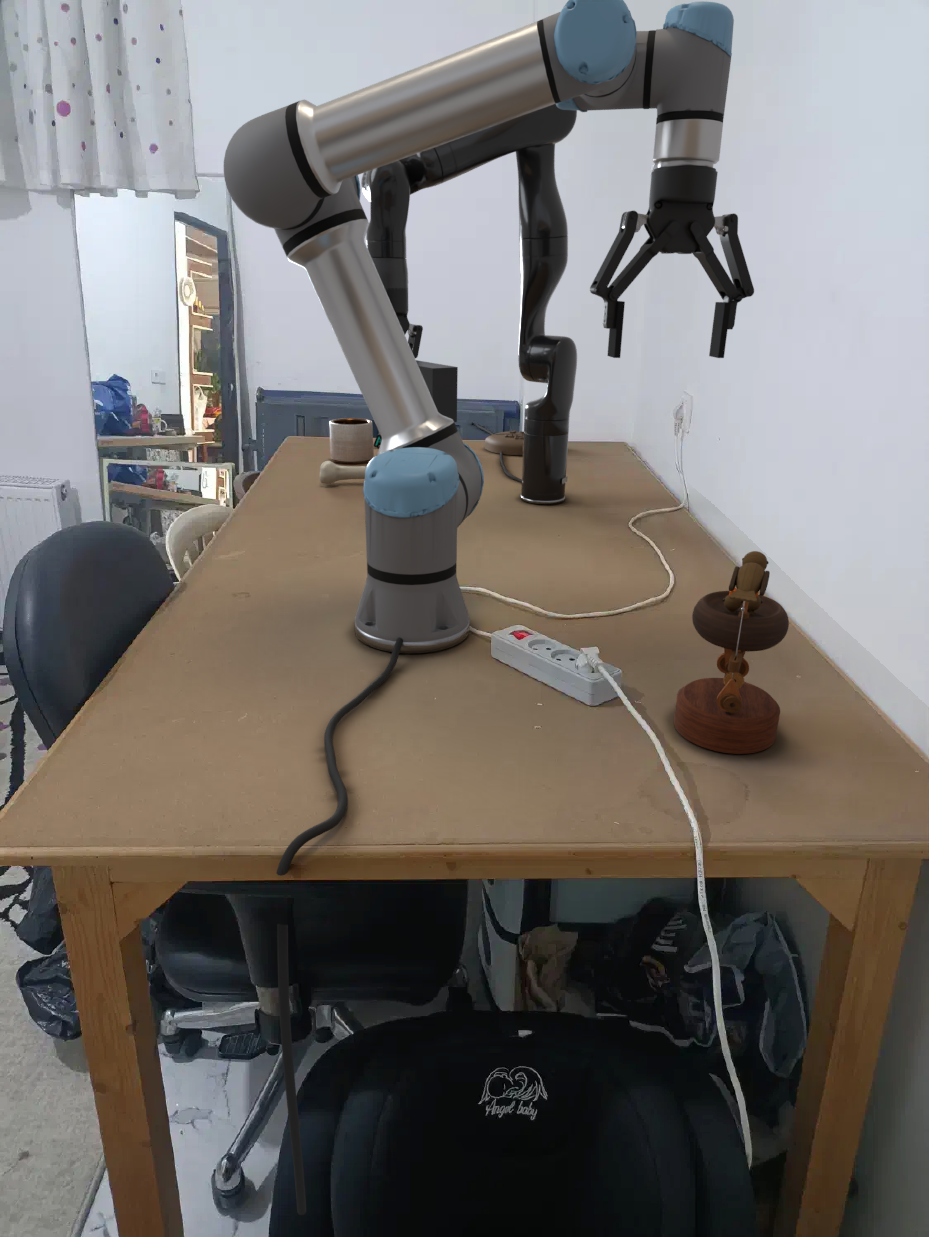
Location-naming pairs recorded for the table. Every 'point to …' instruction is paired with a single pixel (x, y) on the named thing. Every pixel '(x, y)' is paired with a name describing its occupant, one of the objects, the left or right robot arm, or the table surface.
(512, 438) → the brown flat rounded piece
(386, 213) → the right robot arm
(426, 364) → the bar
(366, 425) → the planter
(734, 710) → the music box
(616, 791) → the table surface
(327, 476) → the dog toy
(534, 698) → the table surface
